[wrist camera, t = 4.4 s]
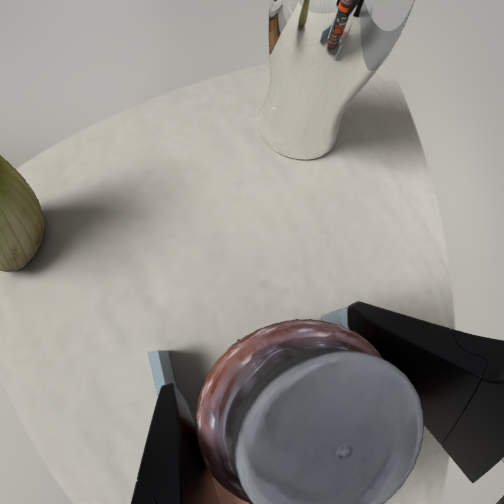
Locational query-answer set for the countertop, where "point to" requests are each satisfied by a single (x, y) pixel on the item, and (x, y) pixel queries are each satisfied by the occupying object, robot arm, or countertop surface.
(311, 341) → the supplement bottle
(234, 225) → the countertop surface
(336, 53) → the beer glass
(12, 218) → the fennel bulb
